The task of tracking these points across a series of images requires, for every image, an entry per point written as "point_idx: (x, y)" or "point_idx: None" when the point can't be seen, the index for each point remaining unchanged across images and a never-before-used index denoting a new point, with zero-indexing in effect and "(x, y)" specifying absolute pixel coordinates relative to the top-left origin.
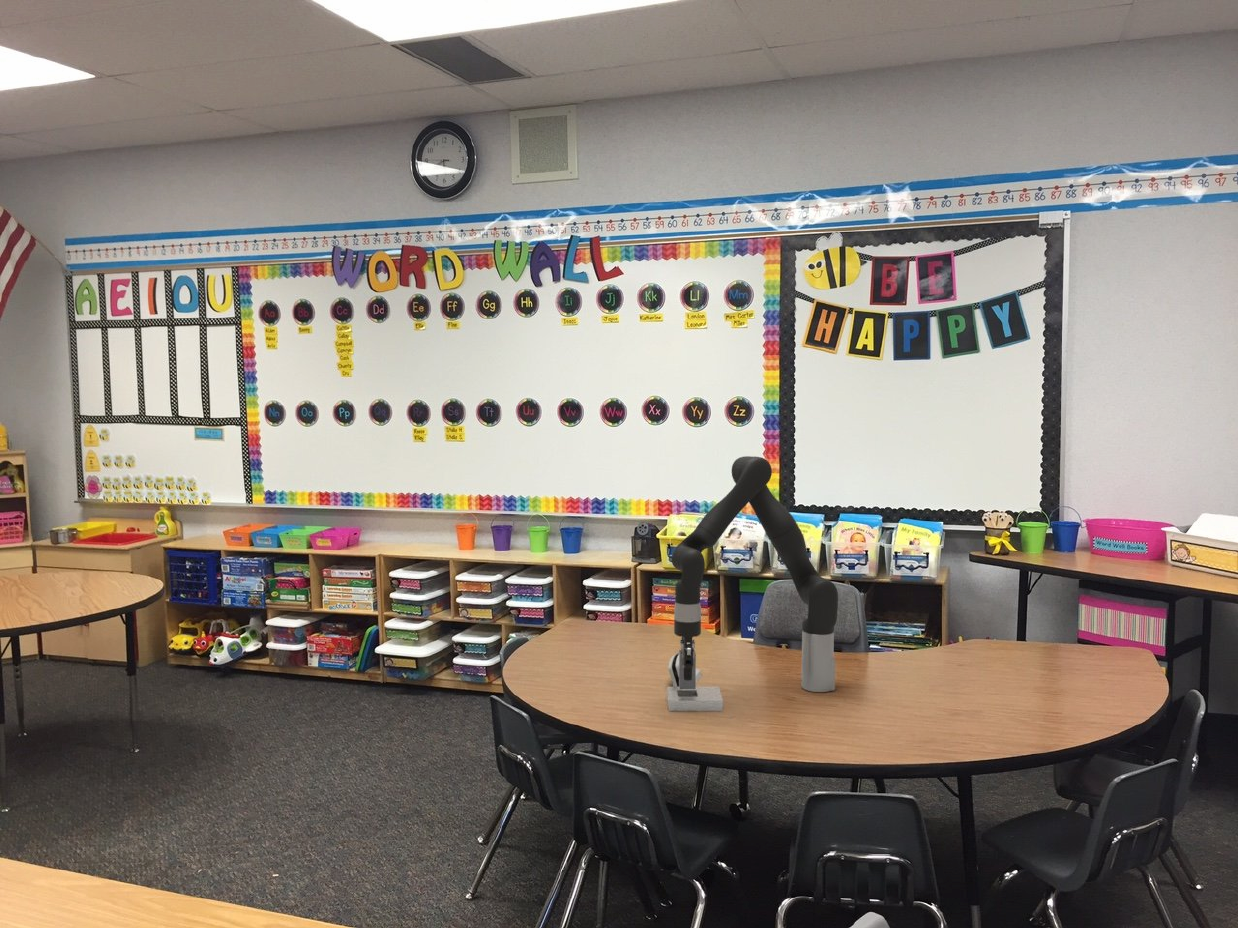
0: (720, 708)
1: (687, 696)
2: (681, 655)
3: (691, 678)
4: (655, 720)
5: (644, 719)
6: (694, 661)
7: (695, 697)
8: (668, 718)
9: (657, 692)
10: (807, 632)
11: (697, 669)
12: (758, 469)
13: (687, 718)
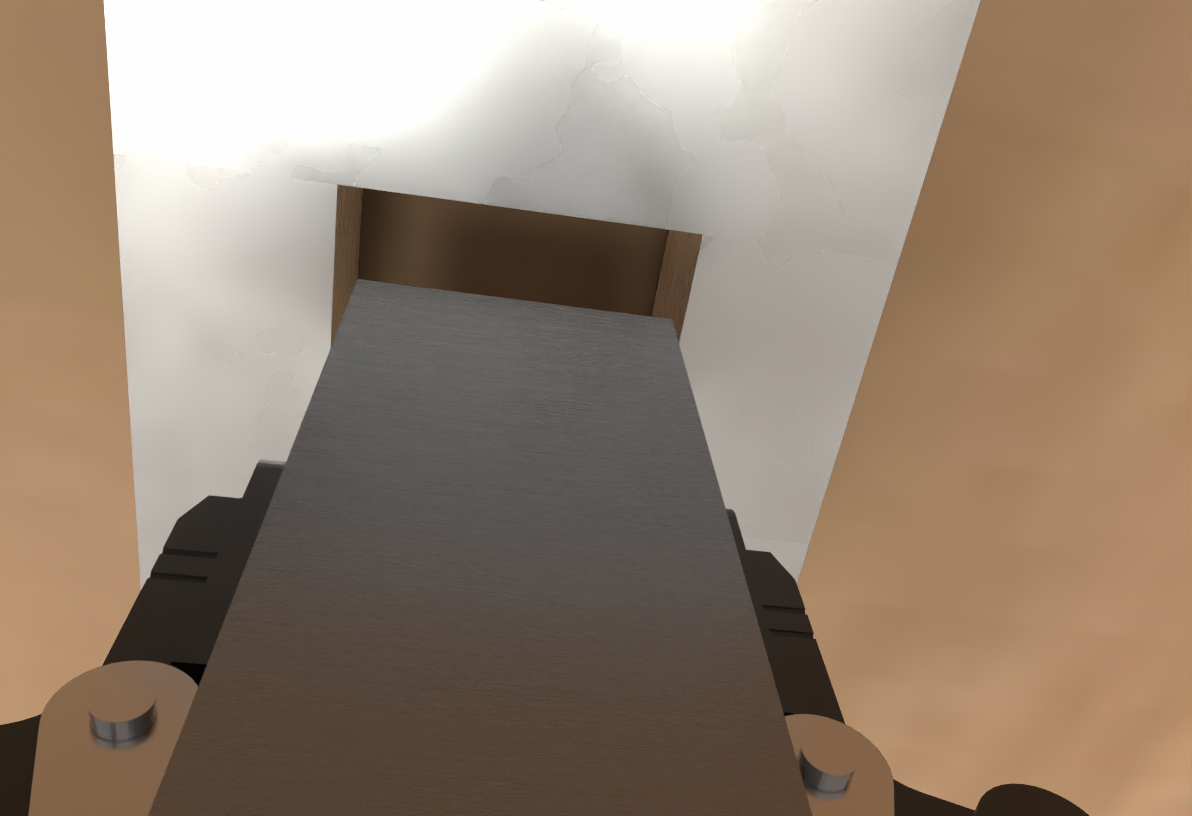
0: None
1: (350, 294)
2: None
3: (735, 525)
4: (994, 712)
5: (929, 792)
6: (784, 782)
7: (733, 283)
8: (984, 594)
9: (11, 587)
10: None
11: None
12: None
13: (1067, 400)
